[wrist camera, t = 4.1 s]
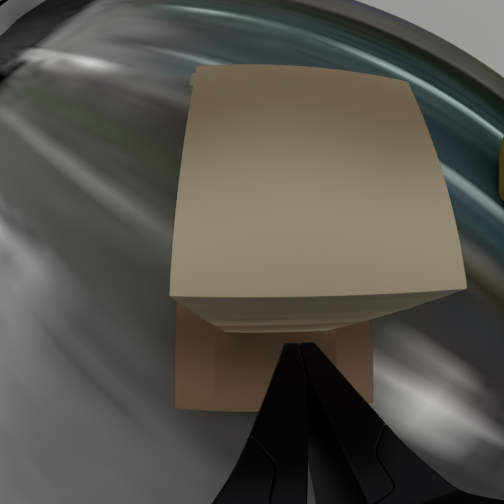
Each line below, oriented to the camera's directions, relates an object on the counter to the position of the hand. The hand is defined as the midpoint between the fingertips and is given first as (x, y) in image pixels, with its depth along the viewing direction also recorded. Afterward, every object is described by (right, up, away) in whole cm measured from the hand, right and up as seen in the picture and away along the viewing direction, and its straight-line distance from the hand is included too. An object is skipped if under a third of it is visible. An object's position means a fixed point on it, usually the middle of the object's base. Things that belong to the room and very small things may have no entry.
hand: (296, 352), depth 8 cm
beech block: (0, +1, +7) cm, 7 cm away
